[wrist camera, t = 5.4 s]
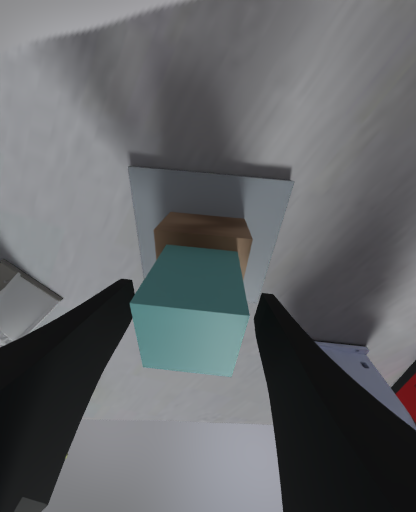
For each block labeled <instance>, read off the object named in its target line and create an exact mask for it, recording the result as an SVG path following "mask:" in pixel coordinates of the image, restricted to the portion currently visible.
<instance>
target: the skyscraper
mask: <svg viewBox="0 0 416 512" xmlns="http://www.w3.org/2000/svg"><path fill="white" fill-rule="evenodd" d="M61 300H62V298H61V297H59V296H58V295H56V294H55V293H54V292H52V291H51V290H49V289H48V288H46V287H45V286H43V285H42V284H40V283H39V282H37V281H36V280H34V279H33V278H31V277H30V276H28V275H27V274H25V273H24V272H22V271H21V270H19V269H18V268H16V267H15V266H13V265H12V264H10V263H9V262H7V261H6V260H4V259H3V260H1V261H0V347H2V346H4V345H6V344H8V343H10V342H13V341H15V340H17V339H19V338H21V337H23V336H25V335H27V334H29V333H30V332H31V331H32V330H33V329H34V328H35V327H36V326H37V325H38V324H39V323H40V322H41V321H42V320H43V319H44V318H45V317H46V316H47V315H48V314H49V313H50V312H51V311H52V310H53V309H54V308H55V307H56V306H57V305H58V304H59V303H60V301H61Z"/></svg>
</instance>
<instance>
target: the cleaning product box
mask: <svg viewBox="0 0 416 512" xmlns="http://www.w3.org/2000/svg"><path fill="white" fill-rule="evenodd" d="M391 389H392V390H393V392H394V393H395V395H396V396H397V397H398V399H399V400H400V401H401V403H402V404H403V405H404V407H405V408H406V410H407V411H408V412H409V414H410V416H411V418H412V419H413V421H414V423H415V426H416V360H415V362H414V363H413V364H412V365H411V366H410V367H409V368H408V369H407V370H406V372H405V373H404V374H403V375H402V376H401V377H400V378H399V379H398V381H397V382H396V383H395V384H394V385H393V386H392V387H391Z"/></svg>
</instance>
